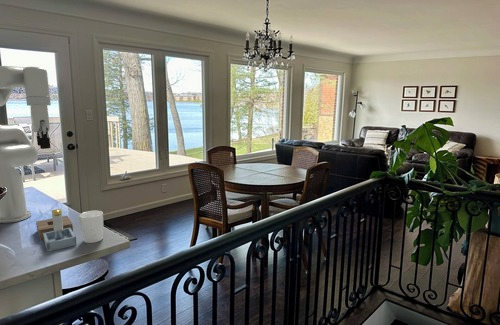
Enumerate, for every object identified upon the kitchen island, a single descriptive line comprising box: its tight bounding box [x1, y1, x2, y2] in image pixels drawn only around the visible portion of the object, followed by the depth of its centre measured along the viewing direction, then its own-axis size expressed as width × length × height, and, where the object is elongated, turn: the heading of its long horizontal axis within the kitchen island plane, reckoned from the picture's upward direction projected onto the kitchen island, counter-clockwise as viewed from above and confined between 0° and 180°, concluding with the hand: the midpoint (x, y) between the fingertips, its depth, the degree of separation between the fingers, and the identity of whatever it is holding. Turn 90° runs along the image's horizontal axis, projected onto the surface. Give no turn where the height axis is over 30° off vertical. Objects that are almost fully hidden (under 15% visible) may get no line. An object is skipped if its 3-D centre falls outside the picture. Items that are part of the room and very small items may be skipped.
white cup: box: [78, 209, 104, 244], centre depth 124 cm, size 8×8×10 cm
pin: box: [51, 208, 64, 241], centre depth 121 cm, size 3×3×12 cm
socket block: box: [35, 215, 74, 241], centre depth 131 cm, size 11×11×4 cm
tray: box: [43, 228, 77, 252], centre depth 122 cm, size 11×9×3 cm
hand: (44, 146), depth 128 cm, fingers open, 9 cm apart
